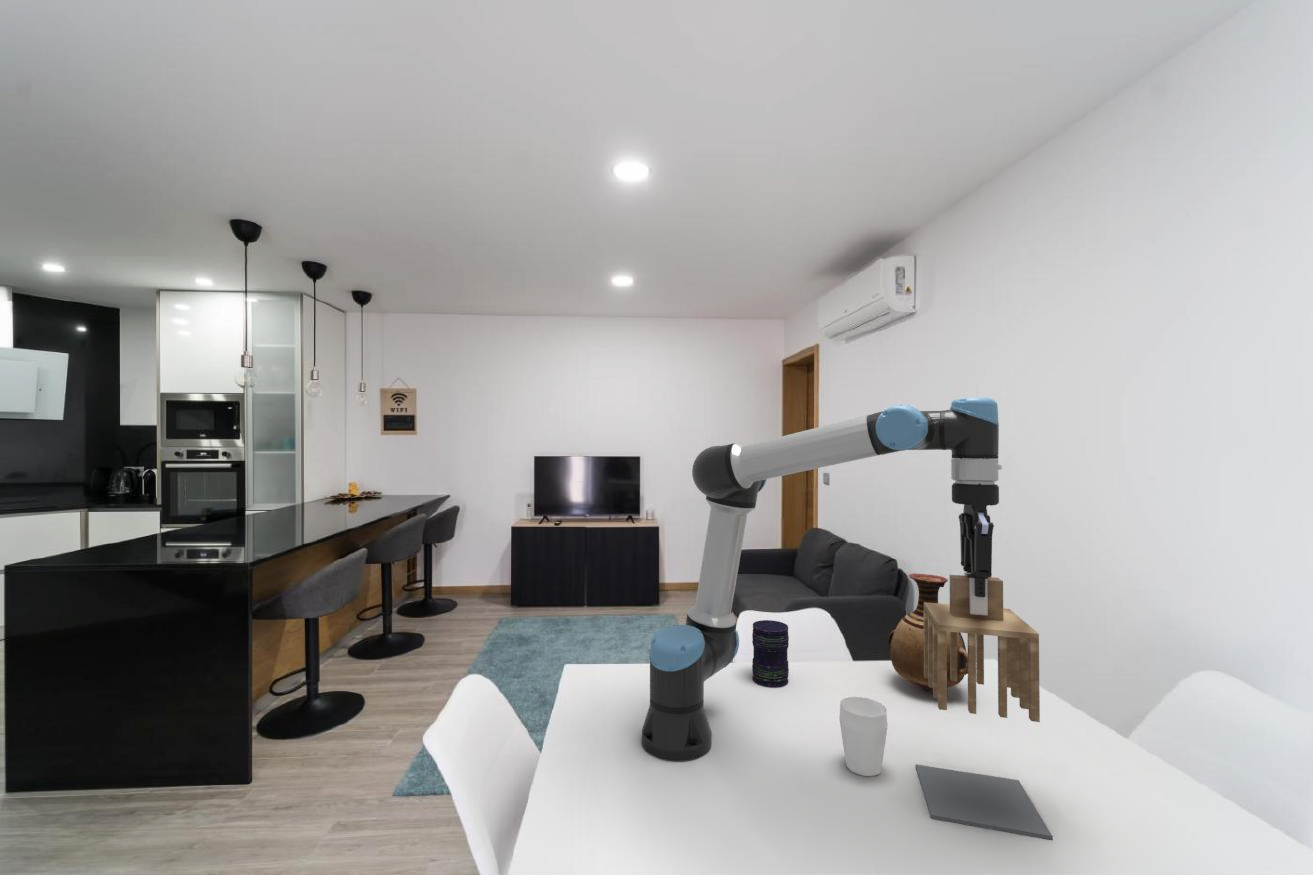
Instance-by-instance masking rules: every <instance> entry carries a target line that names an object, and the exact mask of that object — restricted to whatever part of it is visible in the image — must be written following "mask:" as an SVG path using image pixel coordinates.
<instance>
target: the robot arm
mask: <svg viewBox="0 0 1313 875" xmlns="http://www.w3.org/2000/svg"><path fill="white" fill-rule="evenodd" d="M949 407H950V408H949V409H945V410H919V409H918V408H916V407H913V406H911V405H906V404H905V405H904V404H900V405H893V406H890V407H888V408H887V409H884V410H883V411H879V412H875V413H871V414H867V415H863V416H858V417H854V418H849V419H847V420H843V421H837V422H835V423H834V422H833V423H830V424H827V425H826V424H825V425H823V426H818V427H814V428H810V429H807V430H802V431H798V432H794V433H791V434H790V433H789V434H785V435H783V436H780V437H774V438H770V439H766V440H762V441H759V442H754V443H750V444H746V445H745V444H743V443H741V442H739V441H738V442H734V443H731V444H725V445H713V446H710V447H707V448H705V449H703V450H702V451H701V452H700V453H698V455H697V456H696V458H695V460H694V462H693V465H692V470H691V472H692V473H691V476H692V480H693V482H694V485H695V486H696V488H697V489H698V491H700V493H702V494H703V495H705V496H706V497H705V501H706V502H707V504H708V505H709V507H710V510H709V511H710V512H709V516H708V517H709V518H708V524H707V530H706V535H705V543H704V548H703V554H702V561H701V567H700V573H699V579H698V587H697V593H696V596H695V597H696V598H695V604H694V605H692V606H691V607H690V608H688V610H687V613H686V614H687V615H686V618H685V624H676V625H672V626H665V627H663V628H661V629H659V630H658V631H657V632H655V633H654V635H653V636H652V638H651V640H650V649H649V653H648V655H649V656H648V657H649V708H648V710H647V713H646V716H645V719H644V723H643V726H642V729H641V746H642V748H643V749H644V751H645V752H647V753H648V754H649V755H651V756H652V757H655V758H658V759H660V760H663V761H665V760H666V761H672V762H673V761H674V762H685V761H691V760H695V759H698V758H701V757H703V756H705V755H706V754H708V752H709V751H710V750H711V748H712V746H713V745H712V743H713V741H712V738H713V737H712V736H713V735H712V729H711V726H710V723H709V720H708V717H707V714H706V710H705V705H704V703H705V702H704V695H705V694H704V693H705V692H704V691H705V690H704V685H705V684H704V683H705V681H707V680H709V679H710V678H711V677H713V676H714V675H715V674H717V673H718V672H720V671H721V670H723V669H724V668H726V667H727V666H729V664H731V662H733V660H734V659H735V657H736V656H737V654H738V650H739V647H740V637H739V631H738V630H737V629H736V623H737V619H736V617H735V616H734V614H733V613H732V609H733V602H734V596H735V592H736V585H737V579H738V573H739V567H740V561H741V560H740V559H741V554H742V549H743V543H744V537H745V529H746V524H747V518H748V514H749V513H750V512H752V511H754V510H755V509H756V505H757V500H758V493H759V492H760V491H762V490H763V489H764V487H765V485H766V483H767V480H769V479H773V478H779V477H782V476H789V475H792V474H797V473H800V472H801V473H802V472H806V471H811V470H815V469H821V468H823V467H824V468H825V467H829V466H834V465H839V464H844V463H849V462H853V461H857V460H862V459H867V458H872V457H877V456H880V455H882V456H883V455H888V454H892V453H898V452H904V451H913V450H914V451H930V450H931V451H936V450H937V451H940V450H941V451H946V450H947V451H948V450H949V451H951V459H950V460H951V462H950V463H951V465H950V466H951V468H950V469H951V470H950V471H951V474H950V475H951V480H953V481H954V483H952V484H951V501H952V502H953V504H958V505H963V509H962V510H963V511H962V513H961V512H960V513H959V515H958V521H959V532H960V533H959V536H960V565H961V567H962V569H963V572H964V573H963V576H967V578H969V599H970V614H977V615H988V595H987V579H988V577H992V564H993V561H992V560H993V556H992V555H993V554H992V553H993V533H994V527H995V525H994V522H991V516H990V515H989V514H988V509H987V507H988V506H997V505H998V504H999V503H1000V486H999V485H998V484H995V483H996V482H998V481H999V471H1000V470H1002V469H1003V466H1002V465H1001V464H999V442H1000V441H999V439H1000V437H999V436H1000V435H999V434H1000V433H999V432H1000V430H999V429H1000V428H999V427H1000V426H999V425H1000V424H999V422H1000V421H999V410H998V403H997V401H995V399H992V398H989V397H967V398H957V399H953V400H952V401H951V405H950V406H949Z"/></svg>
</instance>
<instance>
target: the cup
mask: <svg viewBox="0 0 1313 875" xmlns="http://www.w3.org/2000/svg"><path fill="white" fill-rule="evenodd" d="M839 707H840V708H839V718H838V719H839V726H840V733H841V739H842V747H843V754H844V760H845V766H846V767H847V768H848V770H850V771H851V772H853V773H854V774H856V775H860V776H863V777H875V776H877V775H879V774H881V772H882V768H883V767H882V766H883V760H884V754H885V749H886V748H885V747H886V739H887V735H888V734H887V733H888V732H887V731H888V727H889V726H888V724H889V723H888V714H887V708H886V706H885V705H884V704H883V703H881V702H879V701H878V700H875V699H872V698H868V697H861V696H849V697H845V698H843V699H842V700H840V704H839Z"/></svg>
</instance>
